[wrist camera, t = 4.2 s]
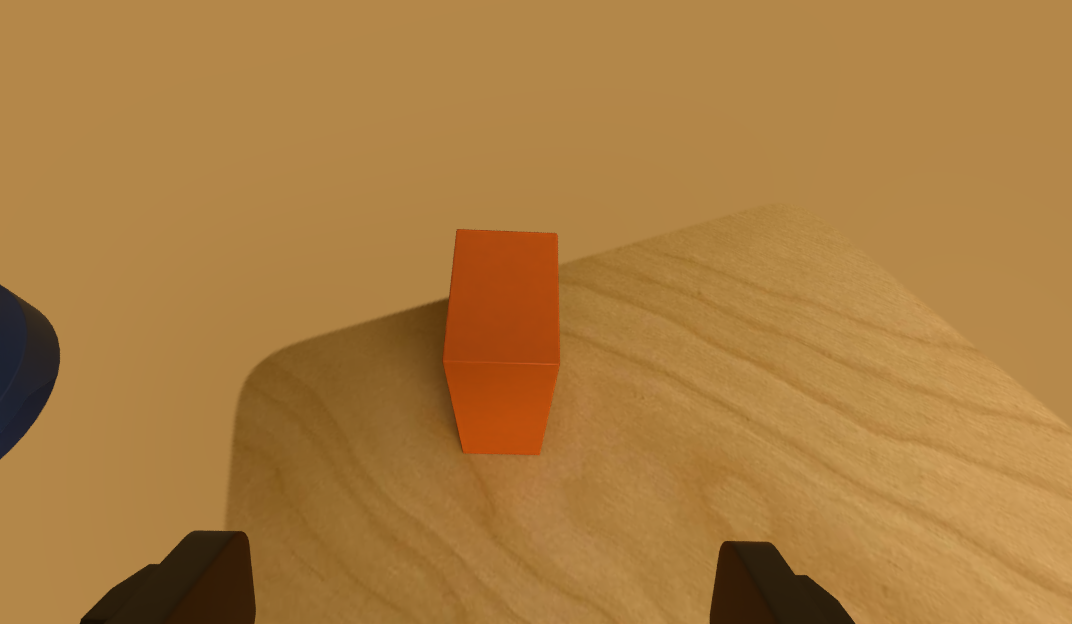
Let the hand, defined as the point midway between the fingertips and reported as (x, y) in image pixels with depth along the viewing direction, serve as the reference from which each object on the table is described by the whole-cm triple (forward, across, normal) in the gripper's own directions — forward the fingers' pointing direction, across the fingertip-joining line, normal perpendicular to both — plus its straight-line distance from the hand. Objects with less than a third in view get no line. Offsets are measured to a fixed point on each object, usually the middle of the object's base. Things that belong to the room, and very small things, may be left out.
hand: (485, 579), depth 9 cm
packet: (+16, 0, +4) cm, 17 cm away
